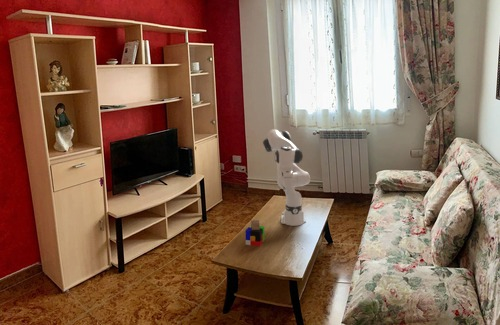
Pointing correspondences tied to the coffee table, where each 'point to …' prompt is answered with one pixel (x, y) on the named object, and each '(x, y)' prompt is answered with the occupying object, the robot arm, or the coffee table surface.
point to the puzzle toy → (254, 236)
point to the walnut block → (255, 225)
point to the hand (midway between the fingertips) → (285, 191)
